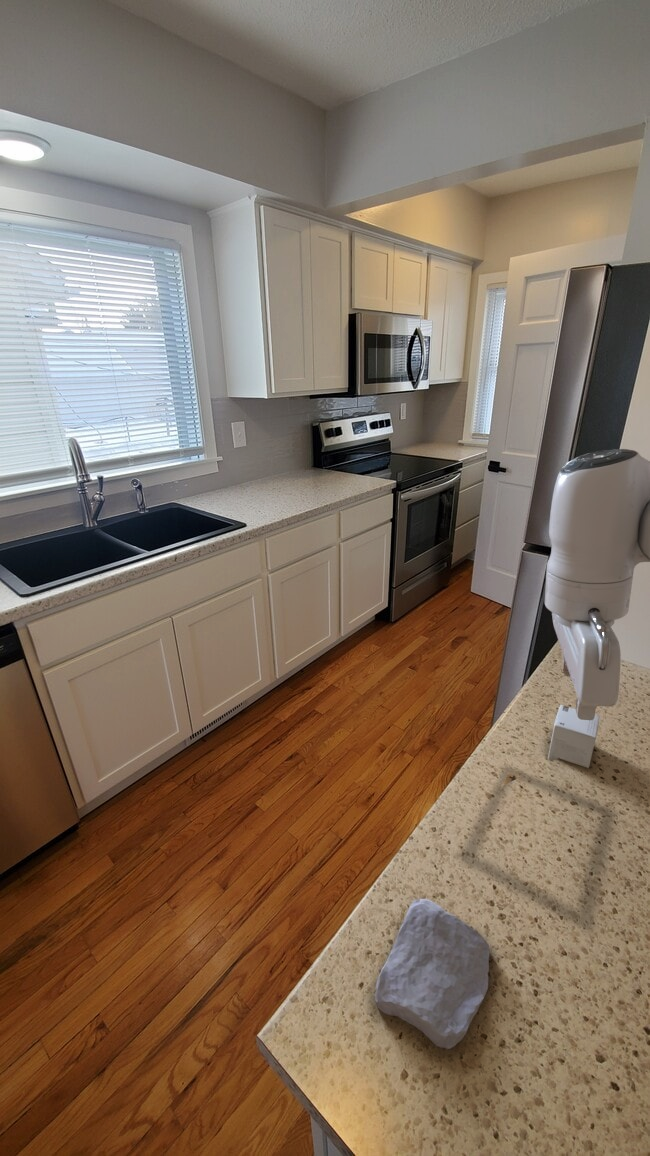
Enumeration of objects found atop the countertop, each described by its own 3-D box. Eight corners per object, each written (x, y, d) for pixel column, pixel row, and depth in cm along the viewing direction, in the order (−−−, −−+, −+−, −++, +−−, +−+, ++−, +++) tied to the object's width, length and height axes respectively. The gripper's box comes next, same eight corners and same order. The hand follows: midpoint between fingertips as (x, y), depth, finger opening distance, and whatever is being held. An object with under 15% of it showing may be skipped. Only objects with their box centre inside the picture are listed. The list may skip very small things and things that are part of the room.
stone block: (489, 958, 56) (409, 904, 59) (502, 939, 53) (418, 883, 57) (456, 1081, 47) (365, 1007, 50) (470, 1065, 44) (373, 988, 48)
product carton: (587, 774, 77) (596, 738, 74) (546, 760, 80) (553, 724, 77) (591, 750, 82) (600, 715, 79) (553, 737, 85) (559, 703, 82)
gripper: (644, 634, 47) (628, 751, 51) (596, 565, 65) (587, 655, 70) (572, 632, 49) (563, 745, 53) (545, 565, 67) (540, 653, 72)
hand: (576, 693), depth 62 cm, fingers open, 8 cm apart
